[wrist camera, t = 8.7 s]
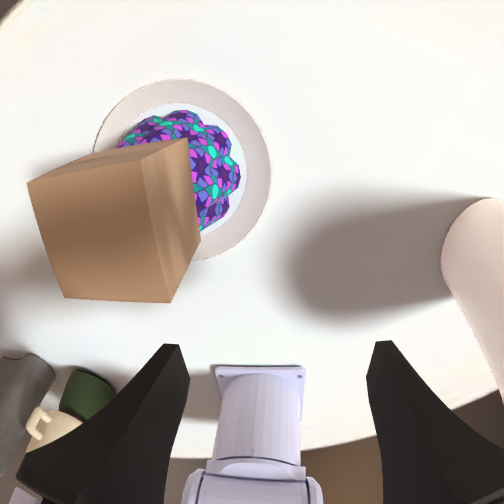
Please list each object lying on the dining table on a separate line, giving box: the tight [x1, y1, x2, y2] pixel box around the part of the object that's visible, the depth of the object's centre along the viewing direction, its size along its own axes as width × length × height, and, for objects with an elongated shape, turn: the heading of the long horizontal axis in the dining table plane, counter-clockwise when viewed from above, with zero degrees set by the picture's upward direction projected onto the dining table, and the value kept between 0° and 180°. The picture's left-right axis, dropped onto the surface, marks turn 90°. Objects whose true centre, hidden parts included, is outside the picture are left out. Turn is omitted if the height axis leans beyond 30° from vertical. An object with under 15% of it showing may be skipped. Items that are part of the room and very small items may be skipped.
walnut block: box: [27, 138, 201, 303], centre depth 12 cm, size 5×5×5 cm
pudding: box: [94, 79, 272, 261], centre depth 16 cm, size 12×12×5 cm
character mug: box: [26, 371, 116, 453], centre depth 25 cm, size 11×7×13 cm, turn 15°
